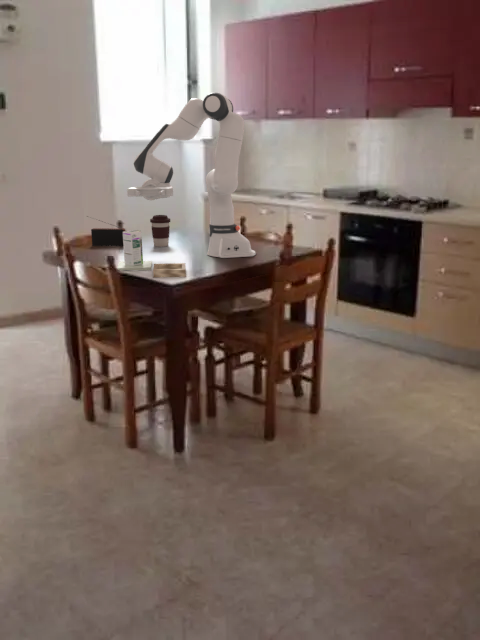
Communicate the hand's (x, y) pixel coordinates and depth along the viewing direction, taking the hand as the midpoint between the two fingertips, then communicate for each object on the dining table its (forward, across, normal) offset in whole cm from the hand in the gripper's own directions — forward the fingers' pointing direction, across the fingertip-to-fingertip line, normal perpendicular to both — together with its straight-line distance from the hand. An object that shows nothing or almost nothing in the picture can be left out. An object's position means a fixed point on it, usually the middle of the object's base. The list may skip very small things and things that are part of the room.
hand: (149, 193), depth 317 cm
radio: (-44, -24, +30) cm, 58 cm away
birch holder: (+27, +8, +30) cm, 41 cm away
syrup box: (+12, -8, +29) cm, 32 cm away
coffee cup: (-40, +3, +30) cm, 50 cm away
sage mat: (+12, -7, +30) cm, 33 cm away
